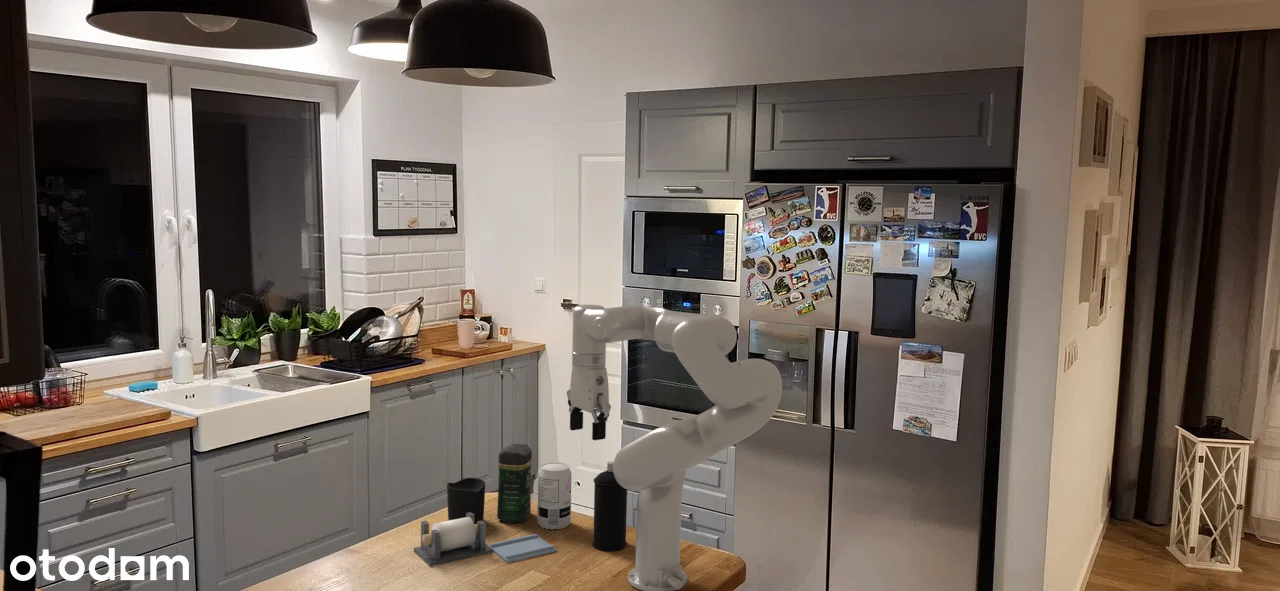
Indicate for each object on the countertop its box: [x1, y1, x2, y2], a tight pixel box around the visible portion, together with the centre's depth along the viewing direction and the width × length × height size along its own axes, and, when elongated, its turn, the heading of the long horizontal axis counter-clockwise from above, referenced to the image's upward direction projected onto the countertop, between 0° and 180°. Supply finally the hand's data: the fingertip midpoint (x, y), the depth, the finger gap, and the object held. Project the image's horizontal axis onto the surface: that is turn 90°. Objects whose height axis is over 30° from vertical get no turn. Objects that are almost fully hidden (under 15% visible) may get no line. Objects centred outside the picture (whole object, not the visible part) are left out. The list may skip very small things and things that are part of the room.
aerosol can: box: [592, 461, 628, 552], centre depth 203 cm, size 8×8×20 cm
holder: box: [413, 512, 494, 567], centre depth 197 cm, size 15×10×7 cm, turn 125°
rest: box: [487, 533, 557, 564], centre depth 200 cm, size 13×10×1 cm
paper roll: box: [422, 517, 477, 552], centre depth 197 cm, size 14×6×6 cm, turn 125°
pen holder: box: [446, 477, 486, 525], centre depth 216 cm, size 9×9×10 cm
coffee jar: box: [496, 443, 533, 523], centre depth 220 cm, size 10×8×19 cm
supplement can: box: [537, 462, 572, 531], centre depth 215 cm, size 8×8×15 cm
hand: (587, 434), depth 195 cm, fingers open, 9 cm apart
